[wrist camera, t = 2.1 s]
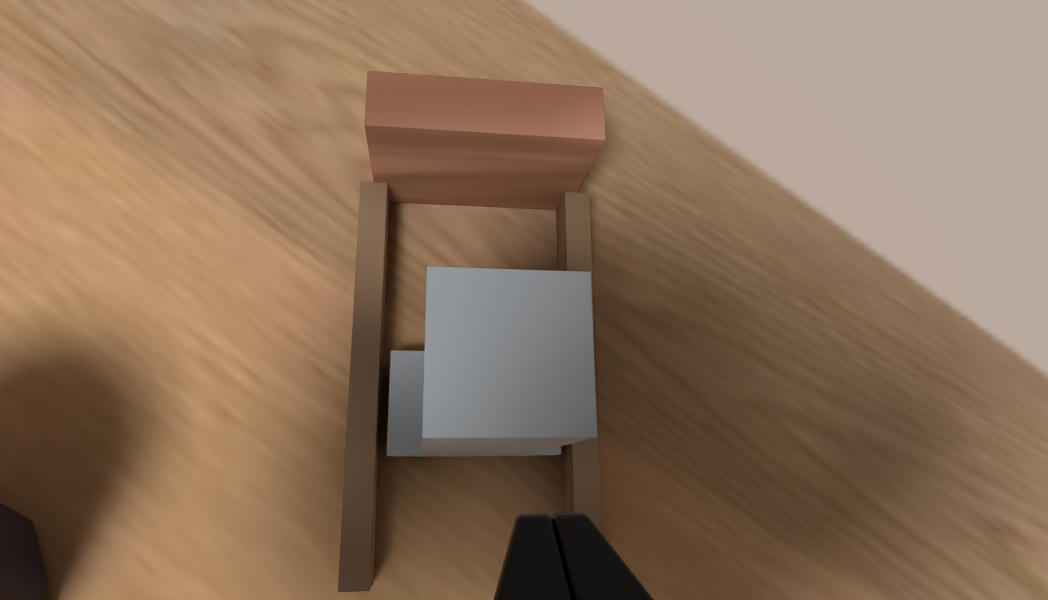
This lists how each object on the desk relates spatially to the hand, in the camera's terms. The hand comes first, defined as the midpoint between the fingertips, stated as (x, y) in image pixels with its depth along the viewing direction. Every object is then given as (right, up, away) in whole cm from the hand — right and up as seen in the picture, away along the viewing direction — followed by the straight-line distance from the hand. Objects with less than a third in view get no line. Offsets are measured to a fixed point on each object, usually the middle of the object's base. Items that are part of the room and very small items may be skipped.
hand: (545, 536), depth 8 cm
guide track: (-2, +2, +13) cm, 14 cm away
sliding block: (-2, 0, +13) cm, 13 cm away
